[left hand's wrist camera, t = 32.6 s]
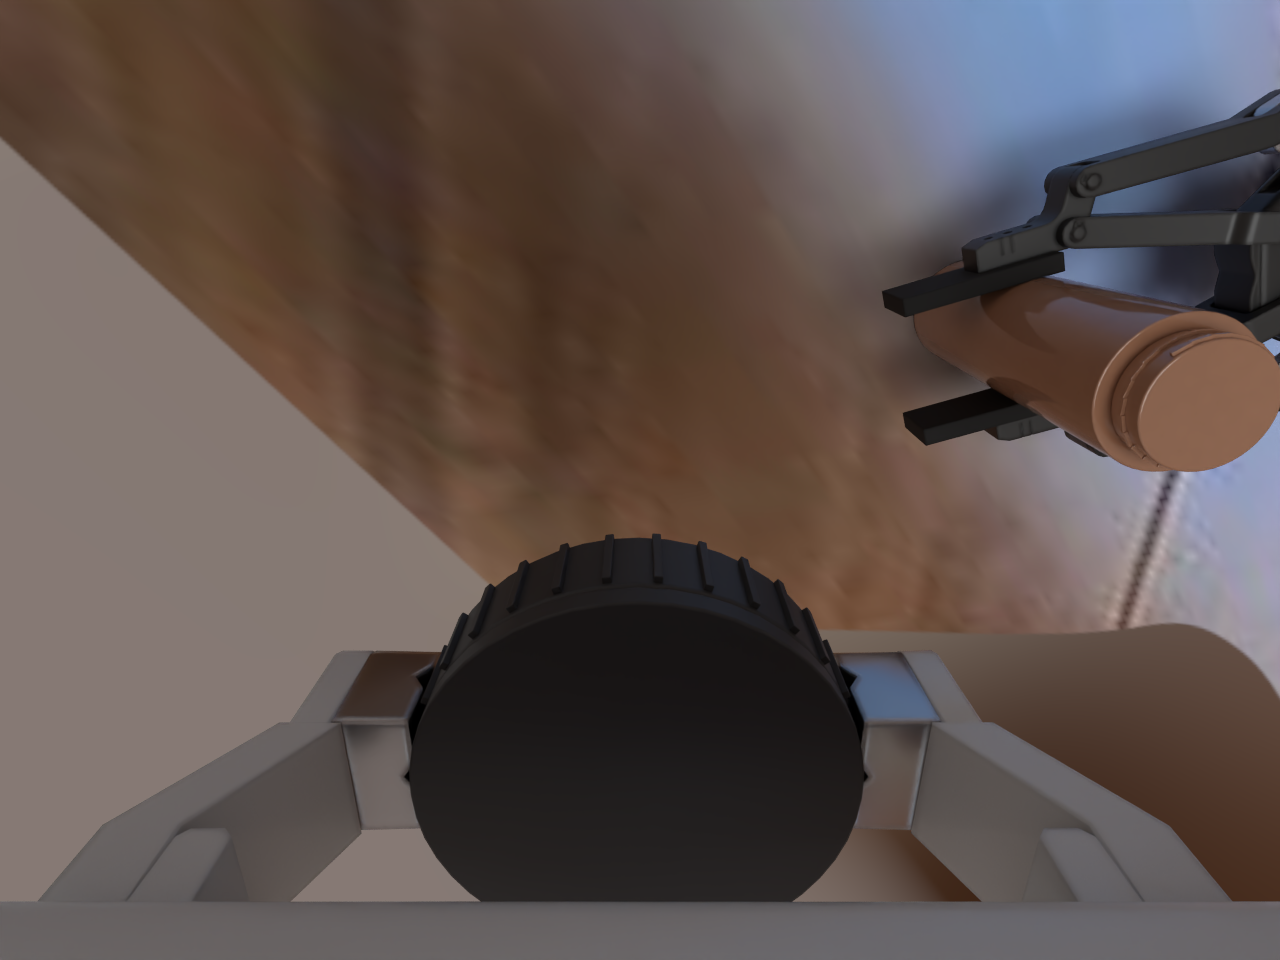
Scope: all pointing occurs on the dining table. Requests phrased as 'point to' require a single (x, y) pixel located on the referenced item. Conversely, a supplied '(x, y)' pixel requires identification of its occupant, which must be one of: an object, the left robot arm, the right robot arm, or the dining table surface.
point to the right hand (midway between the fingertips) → (905, 368)
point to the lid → (636, 734)
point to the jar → (1116, 369)
